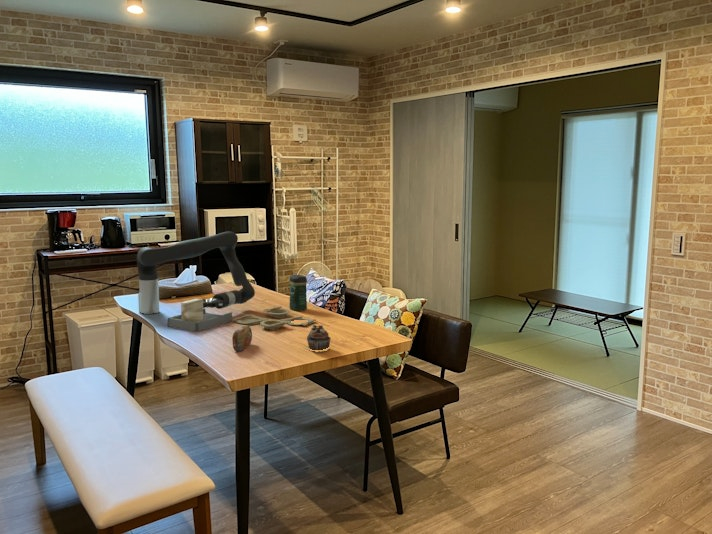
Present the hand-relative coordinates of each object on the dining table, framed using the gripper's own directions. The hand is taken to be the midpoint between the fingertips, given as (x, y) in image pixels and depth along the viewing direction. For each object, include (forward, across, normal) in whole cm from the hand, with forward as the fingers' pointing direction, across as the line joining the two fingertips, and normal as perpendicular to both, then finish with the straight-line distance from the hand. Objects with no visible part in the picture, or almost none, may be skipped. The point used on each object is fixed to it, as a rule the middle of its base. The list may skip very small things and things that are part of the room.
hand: (199, 306), depth 271 cm
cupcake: (+7, +70, +9) cm, 71 cm away
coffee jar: (-50, +22, +9) cm, 56 cm away
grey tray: (0, 0, +8) cm, 9 cm away
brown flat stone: (+21, +42, +9) cm, 48 cm away
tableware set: (-22, +28, +9) cm, 36 cm away
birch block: (+5, 0, +6) cm, 8 cm away
